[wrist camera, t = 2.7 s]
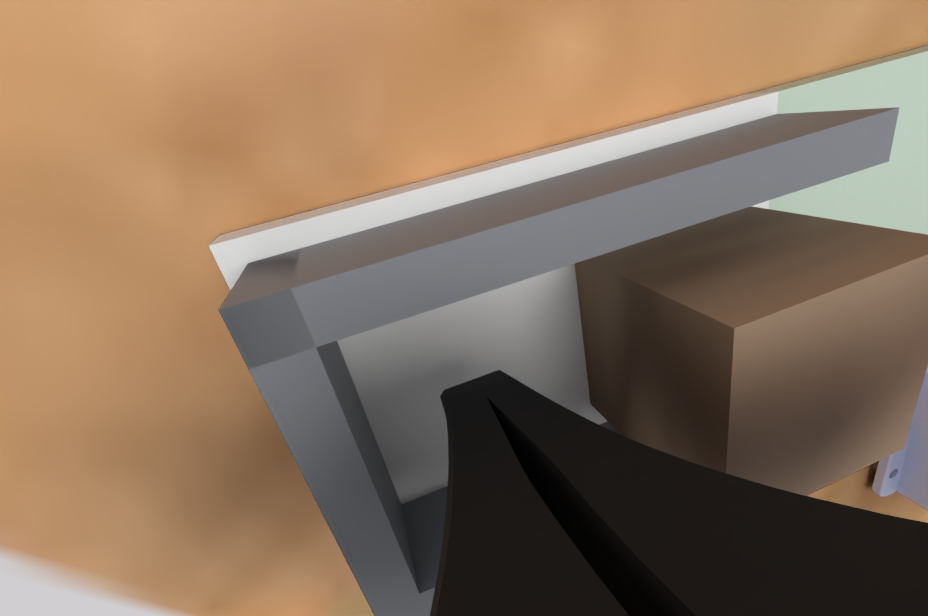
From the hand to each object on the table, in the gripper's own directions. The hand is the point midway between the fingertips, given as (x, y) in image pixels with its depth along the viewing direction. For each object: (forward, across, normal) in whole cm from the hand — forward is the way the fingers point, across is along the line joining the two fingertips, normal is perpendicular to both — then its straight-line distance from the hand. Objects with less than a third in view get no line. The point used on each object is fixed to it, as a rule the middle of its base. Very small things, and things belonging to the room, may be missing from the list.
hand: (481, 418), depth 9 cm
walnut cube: (+2, -6, 0) cm, 6 cm away
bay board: (+3, -7, 0) cm, 7 cm away
